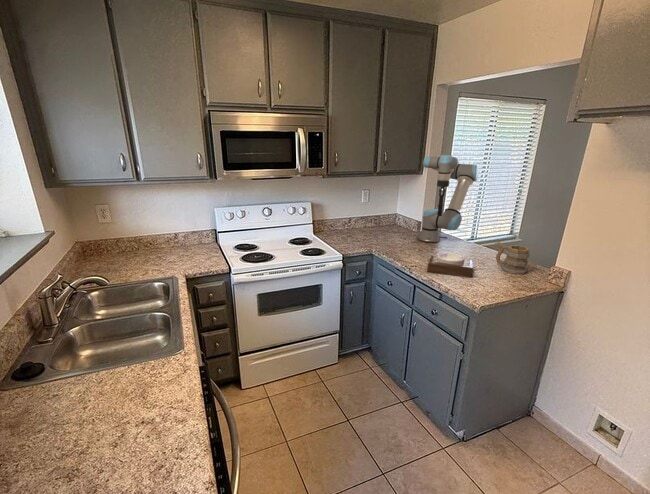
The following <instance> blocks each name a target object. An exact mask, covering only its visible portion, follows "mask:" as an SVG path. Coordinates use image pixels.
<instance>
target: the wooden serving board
mask: <svg viewBox="0 0 650 494" xmlns="http://www.w3.org/2000/svg"><path fill="white" fill-rule="evenodd" d="M434 256H435V255H430V258H429V261H428V263H427V273H431V274H432V273H433V274H437V275H439V274H440V275H447V276H454V277H455V276H456V277H462V278H470V279H472V275H473V269H474V266H473V259H469V261H468V265H465V264H464V265H456V264H447V263H439V262H437V261H434V258H435V257H434Z"/></svg>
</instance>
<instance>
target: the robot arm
mask: <svg viewBox="0 0 650 494" xmlns="http://www.w3.org/2000/svg"><path fill="white" fill-rule="evenodd" d="M459 161H460V160H459V158H458V157H455V156H453V155H452V154H441V155H440V156H431V155H430V156H428V155H427V156H425V157H424V158H423V162H422V165H423V167H424V168H426V169H432V170H434V171H437V172H438V173H437V175H436V176H437V182H436V186H437V187H439V189H438V197H439V198H438V205H437V209H436V208H433V209H432V208H431V209H426V210H424V211H423V215H422V224H421V231H420V232H419V235H418V238H417V239H418V241H420V242H422V243H428V244H431V243H432V244H433V243H438V242H439V241H440V239H448V237H447V236H439V235H440V234H439V229H443V230H447V231H457V230H458V229H459V227H460V226H461V224H462V220H463V218H462V217H463V216H462V214H461V213H462V212H461V210H462V207H463V204H464V202H465V199H466V196H467V194H468V191H469V188H470V187H471V186H472V185H473V184H474V182H477V181H478V180H479V179H478V178H479V172H480V171H479V166H478V165H477V164H468V163H460V162H459ZM450 180H455V181H456V182H457V184H456V187H455V189H454V191H453V193H452V197H451V200H450V202H449V204H448V207H447V208H445V209H444V211H443V207H444V197H445V195H446V188H449V186H450Z"/></svg>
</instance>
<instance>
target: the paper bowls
mask: <svg viewBox="0 0 650 494" xmlns="http://www.w3.org/2000/svg"><path fill="white" fill-rule="evenodd" d="M436 262H439V263H447V264H456V265H464V266H465V257H464V255H461V254H457V253H449V252H448V253H447V252H445V253H444V252H443V253H440V254H438V255H437V259H436Z"/></svg>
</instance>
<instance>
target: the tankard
mask: <svg viewBox="0 0 650 494" xmlns="http://www.w3.org/2000/svg"><path fill="white" fill-rule="evenodd" d="M494 246H495V247H497V246H498V247H499V249H498V250H499V251H498V252H497V253H496V256H495V260H496V263H497V264H498V265H502V266H501V269H502V270H503V271H504V272H506V273H509V274H514V275H525V274H526V273H528V270H529V269H528V268H527V266H528V264H529V261H528V258H529V257H530V254H531V253H530V248H528V247H527V246H524V245H517V244H513V245H509V246H507V245H504V244H503V243H501V242H500V241H497V242H495V243H494ZM504 250H506V251H505V255H506V256H505V258H504V260H502V259H501V256H502V255H503V253H504Z"/></svg>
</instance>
